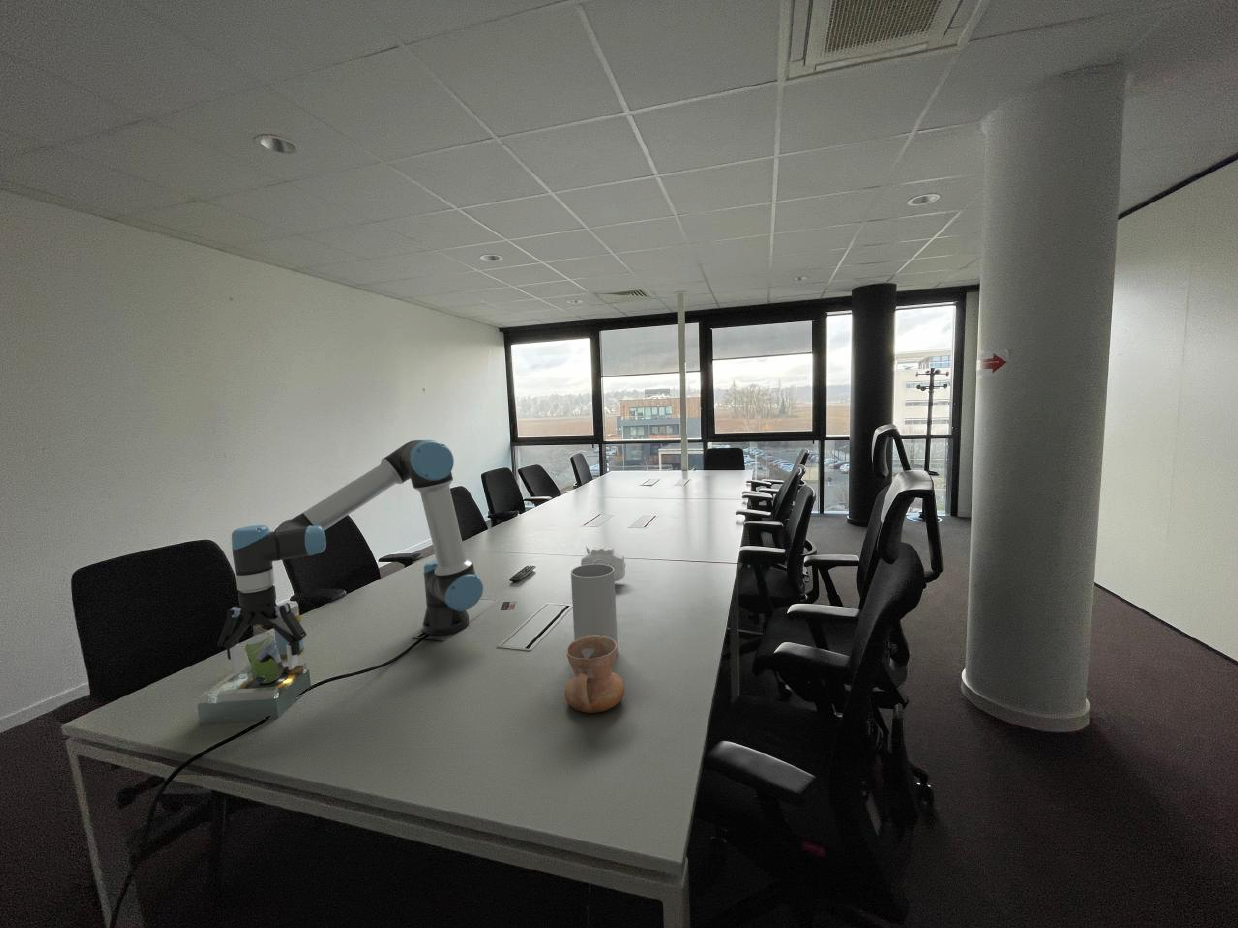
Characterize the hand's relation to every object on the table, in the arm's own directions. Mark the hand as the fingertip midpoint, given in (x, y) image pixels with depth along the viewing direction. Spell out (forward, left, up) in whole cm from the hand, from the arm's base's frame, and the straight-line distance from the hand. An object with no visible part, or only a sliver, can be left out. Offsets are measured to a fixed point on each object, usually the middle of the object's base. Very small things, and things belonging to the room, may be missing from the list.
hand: (265, 669), depth 125 cm
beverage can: (0, 0, -3) cm, 3 cm away
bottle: (+11, -28, -9) cm, 31 cm away
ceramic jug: (-83, +12, -9) cm, 84 cm away
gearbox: (+2, +1, -9) cm, 9 cm away
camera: (-88, -73, -9) cm, 115 cm away
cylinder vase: (-84, -13, -9) cm, 85 cm away
